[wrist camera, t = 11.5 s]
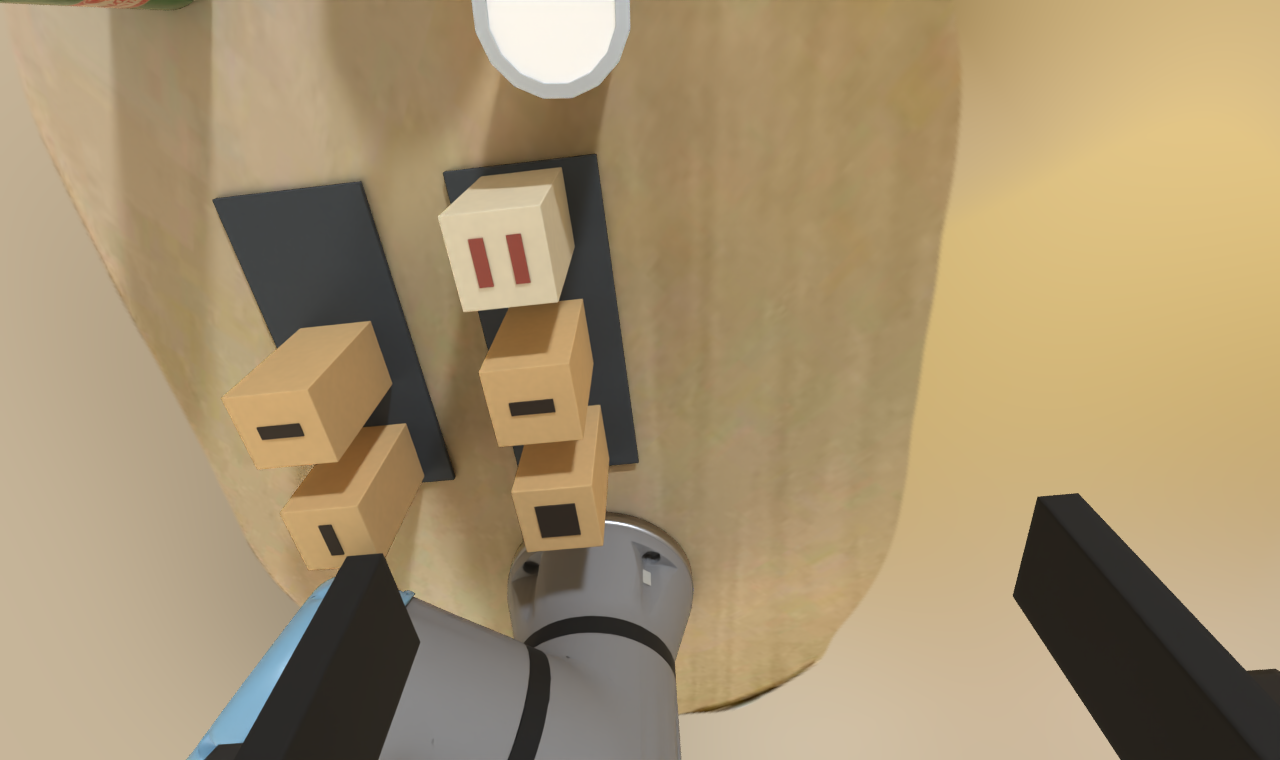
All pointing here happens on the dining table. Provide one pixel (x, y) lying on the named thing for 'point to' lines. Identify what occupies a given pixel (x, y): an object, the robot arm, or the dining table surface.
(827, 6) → the dining table surface
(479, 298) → the cream block
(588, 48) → the white cup
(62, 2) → the soda can
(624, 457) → the right word board
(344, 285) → the left word board
